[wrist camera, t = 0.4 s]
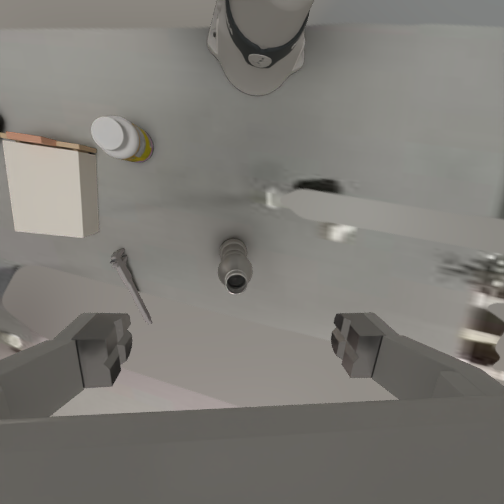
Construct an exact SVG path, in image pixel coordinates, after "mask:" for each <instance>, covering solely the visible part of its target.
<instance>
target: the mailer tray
mask: <svg viewBox="0 0 504 504" xmlns="http://www.w3.org/2000/svg"><path fill="white" fill-rule="evenodd" d="M0 136H1V138H5V139H10V140H15V141H16V142H17V143H24V144H31V145H38V146H45V147H51V148H58V149H65V150H72V151H78V152H83V153H88V152H92V153H96V149H95V148H91V147H87V146H83V145H79V144H73V143H66V142H60V141H56V140H53V139H49V138H45V137H40V136H34V135H27V134H21V133H14V132H7V131H6V133H0Z"/></svg>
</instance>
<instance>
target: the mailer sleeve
mask: <svg viewBox="0 0 504 504" xmlns="http://www.w3.org/2000/svg"><path fill="white" fill-rule="evenodd" d="M2 141H3V149H4V156H5V163H6V170H7V177H8V184H9V191H10V198H11V205H12V212H13V219H14V226H15V231H19V232H29V233H39V234H49V235H59V236H69V237H79V238H85V237H87V236H90V235H92V234H95V233H98V232H99V214H98V191H97V167H96V155H93V154H88V153H83V152H78V151H72V150H65V149H58V148H51V147H45V146H38V145H31V144H24V143H17V142H11V141H4V140H2Z"/></svg>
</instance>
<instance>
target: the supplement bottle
mask: <svg viewBox="0 0 504 504" xmlns="http://www.w3.org/2000/svg"><path fill="white" fill-rule="evenodd" d="M91 134H92V137H93V139H94V141H95V142H96V143H97V144H98V145H99V146H100V147H101V149H102V150H103V151H104V152H105V153H107V154H108V155H110V156H112V157H114V158H118V159H122V160H127V161H131V162H144V161H146V160H147V159H149V158H150V156H151V155H152V152H153V143H152V140H151V138H150V136H149V135H148V134H147V133H146V132H145V131H144V130H142V129H141V128H139V127H138V126H136V125H134V124H133V123H131V122H129V121H128V120H126V119H125V118H123V117H120V116H116V115H110V116H106V117H99V118H97V119H96V120H95V121H94V122H93V124H92V127H91Z"/></svg>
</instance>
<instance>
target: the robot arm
mask: <svg viewBox="0 0 504 504" xmlns="http://www.w3.org/2000/svg"><path fill="white" fill-rule="evenodd" d="M313 2H314V0H217V2H216V6H215V10H214V14H213V18H212V22H211V26H210V31H209V35H208V39H207V45H208V48H209V50H210V51H211V52H212V54H213V55H214V56H215V57H216V58H217V59H218V60H219V62H220V64H221V66H222V68H223V70H224V73H225V74H226V76H227V78H228V79H229V81H230V82H231V83H232V84H233V85H234V86H235V87H236V88H237V89H239V90H240V91H242V92H244V93H246V94H250V95H256V96H259V95H265V94H269V93H271V92H273V91H274V90H276V89H277V88H278V87H280V86H281V85H282V83H283V82H284V81H285V80H286V78H287V77H288V76H289V75H291V74H293V73H295V72H296V71H298V70H299V69H301V67H302V66H303V63H304V45H305V41H306V40H305V39H304V29H305V26H306V22H307V19H308V16H309V11H310V8H311V6H312V4H313ZM214 34H216V38H215V37H214ZM130 324H131V322H130V316H129V315H128V314H125V313H124V314H123V313H83V314H81V315H79V316H78V317H77V318H76V319H75V320H74V321H73V322H72V323H71V324H70V325H69V326H67V327H66V328H65V329H64V330H63V331H62V332H61V333H59V334H58V335H57V336H56V337H55V338H54V339H53V340H47V341H44V342H42V343H39V344H37V345H35V346H32V347H30V348H28V349H25V350H23V351H21V352H18V353H16V354H13V355H11V356H9V357H6V358H4V359H2V360H0V504H504V386H503V385H501V384H500V383H499V382H498V381H496V380H495V379H494V378H492V377H491V376H490V375H488V374H487V373H486V372H484V371H483V370H481V369H480V368H477V367H475V366H473V365H470V364H468V363H466V362H463V361H461V360H459V359H456V358H454V357H452V356H450V355H447V354H445V353H443V352H440V351H438V350H436V349H433V348H431V347H429V346H426V345H424V344H422V343H420V342H417V341H415V340H413V339H410V338H408V337H406V336H400V335H399V334H397V333H396V332H395V331H394V330H393V329H392V328H391V327H389V326H388V325H387V324H386V323H385V322H384V321H383V320H382V319H380V318H379V317H378V316H377V315H376V314H375V313H371V312H369V313H340V314H336V316H335V319H334V324H335V326H336V328H335V329H334V330H333V331H332V336H331V344H332V348H333V351H334V353H335V354H336V356H338V357H339V358H341V359H342V366H343V367H344V369H345V370H346V372H347V373H348V375H349V376H350V378H372V379H373V380H374V381H376V382H377V383H378V384H380V385H381V386H382V387H384V388H385V389H386V390H387V391H389V392H390V393H391V394H393V395H394V396H395V397H397V398H398V399H399V400H386V401H366V402H347V403H346V402H345V403H325V404H304V405H283V406H264V407H243V408H223V409H202V410H182V411H161V412H141V413H120V414H100V415H79V416H59V417H49V416H51V415H52V414H53V413H54V412H56V411H57V410H58V409H60V408H61V407H62V406H63V405H65V404H66V403H67V402H69V401H70V400H71V399H72V398H74V397H75V396H76V395H77V394H79V393H80V392H81V391H83V390H84V388H95V387H111V386H112V385H113V384H114V382H115V380H116V378H117V377H118V375H119V373H120V371H121V367H120V365H121V364H122V363H124V362H125V361H127V359H128V357H129V355H130V351H131V348H132V334H131V333H130V332H129V331H128V330H127V329H128V327H129V326H130Z"/></svg>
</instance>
